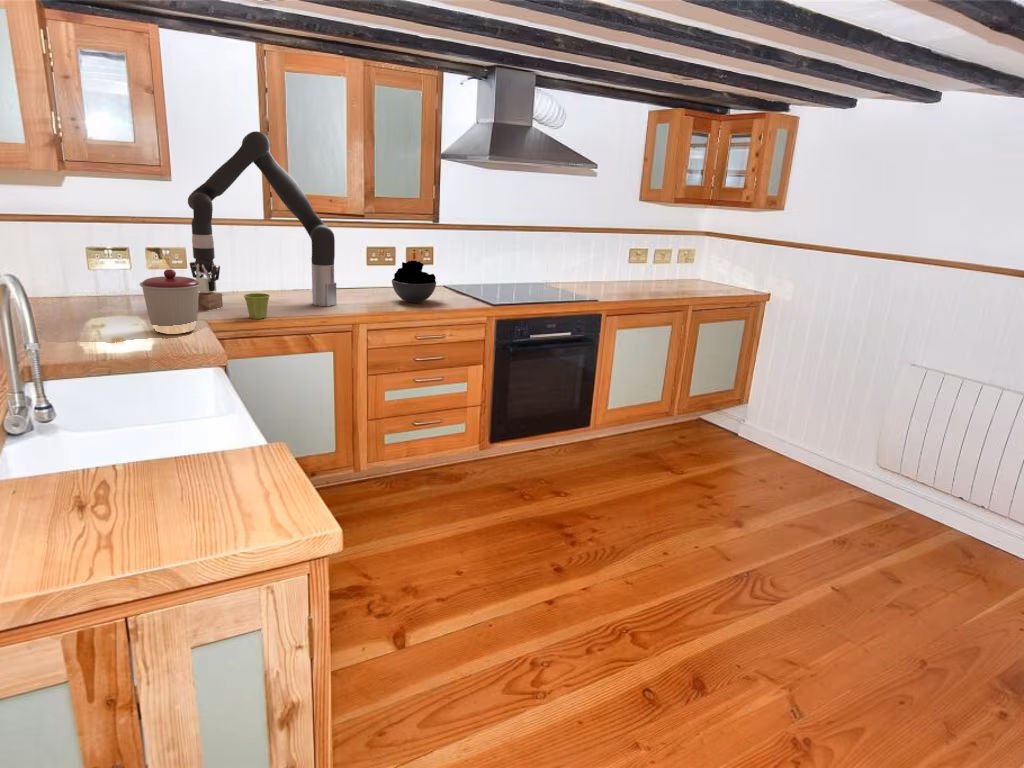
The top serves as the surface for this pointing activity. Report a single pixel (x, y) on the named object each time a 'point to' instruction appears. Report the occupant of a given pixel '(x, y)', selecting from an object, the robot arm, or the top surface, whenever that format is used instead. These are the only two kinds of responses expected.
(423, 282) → the bowl of black rocks
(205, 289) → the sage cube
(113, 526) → the top surface
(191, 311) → the canister
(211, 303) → the walnut block
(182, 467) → the top surface
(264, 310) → the plant pot
